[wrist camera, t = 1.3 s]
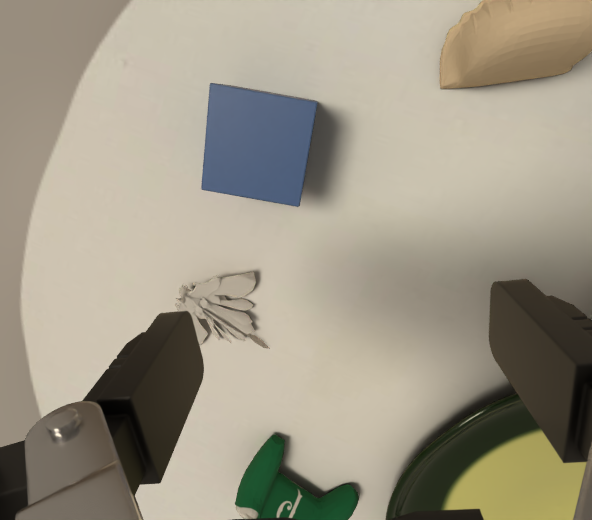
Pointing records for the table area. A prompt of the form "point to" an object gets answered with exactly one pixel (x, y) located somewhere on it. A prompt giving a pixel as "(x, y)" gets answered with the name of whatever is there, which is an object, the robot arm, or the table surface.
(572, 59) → the decorative ornament
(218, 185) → the cube
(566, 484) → the plate
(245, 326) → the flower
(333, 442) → the table surface
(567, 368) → the robot arm
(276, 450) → the green christmas stocking
